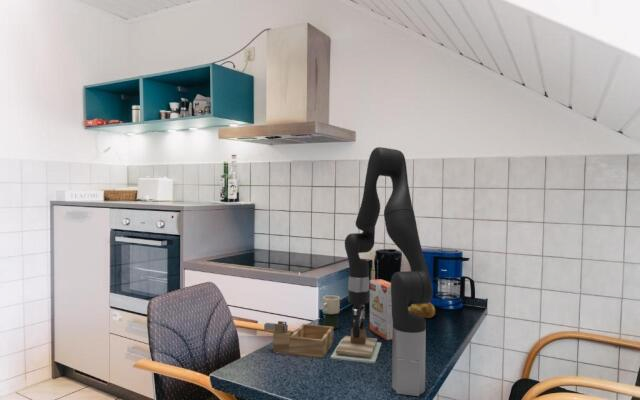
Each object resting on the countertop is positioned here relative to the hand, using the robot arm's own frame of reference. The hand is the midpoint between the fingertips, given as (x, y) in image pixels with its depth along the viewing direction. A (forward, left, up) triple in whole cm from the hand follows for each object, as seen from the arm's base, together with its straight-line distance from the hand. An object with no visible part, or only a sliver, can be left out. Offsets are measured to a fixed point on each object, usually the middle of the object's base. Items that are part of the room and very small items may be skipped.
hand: (358, 333), depth 150 cm
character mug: (+21, +15, -6) cm, 26 cm away
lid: (-2, 0, -5) cm, 5 cm away
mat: (-2, 0, -5) cm, 6 cm away
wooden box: (-4, +19, -5) cm, 20 cm away
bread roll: (+52, -21, -6) cm, 56 cm away
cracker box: (+19, -7, -6) cm, 21 cm away
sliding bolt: (-10, +28, +2) cm, 30 cm away
